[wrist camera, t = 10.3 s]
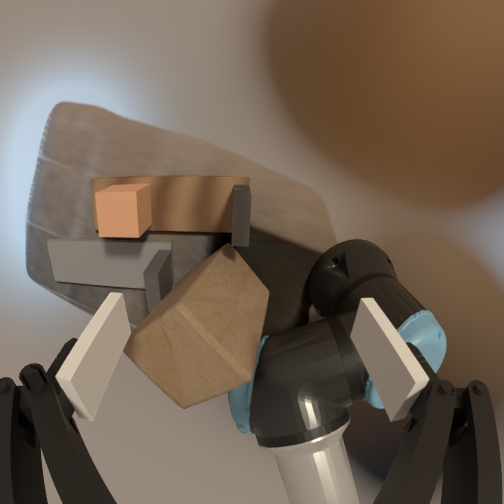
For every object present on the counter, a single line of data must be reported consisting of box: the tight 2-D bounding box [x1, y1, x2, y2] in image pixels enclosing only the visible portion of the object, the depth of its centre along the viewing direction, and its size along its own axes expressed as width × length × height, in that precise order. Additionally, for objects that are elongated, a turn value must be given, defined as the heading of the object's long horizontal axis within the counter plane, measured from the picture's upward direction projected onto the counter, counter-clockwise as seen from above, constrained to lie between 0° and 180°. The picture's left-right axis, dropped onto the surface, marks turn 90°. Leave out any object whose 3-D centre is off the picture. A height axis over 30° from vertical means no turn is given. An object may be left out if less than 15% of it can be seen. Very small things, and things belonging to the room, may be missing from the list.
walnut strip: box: [91, 176, 251, 247], centre depth 35 cm, size 24×8×9 cm, turn 87°
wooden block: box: [123, 243, 269, 409], centre depth 34 cm, size 10×10×20 cm
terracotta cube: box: [95, 184, 152, 238], centre depth 36 cm, size 6×6×6 cm
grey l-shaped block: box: [47, 239, 175, 312], centre depth 38 cm, size 24×8×9 cm, turn 87°
